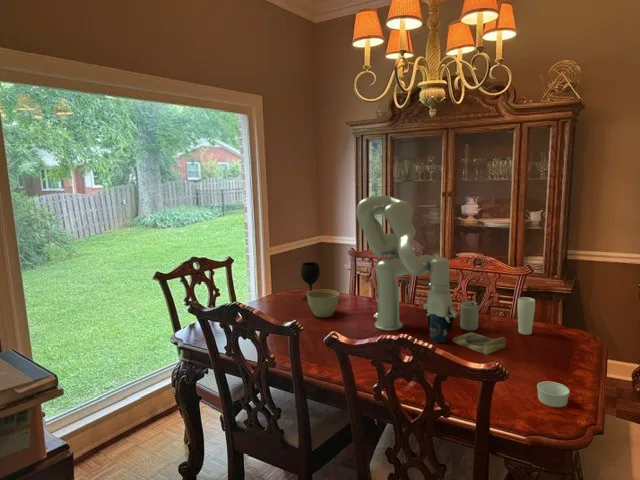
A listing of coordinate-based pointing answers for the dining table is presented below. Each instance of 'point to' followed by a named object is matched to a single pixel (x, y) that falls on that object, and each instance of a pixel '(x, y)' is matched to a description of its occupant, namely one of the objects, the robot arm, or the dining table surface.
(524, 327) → the drinking glass
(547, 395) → the ramekin
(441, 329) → the soda can
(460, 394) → the dining table surface
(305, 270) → the wine glass
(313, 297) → the planter bowl
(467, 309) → the can
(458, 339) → the holder board
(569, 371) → the dining table surface
